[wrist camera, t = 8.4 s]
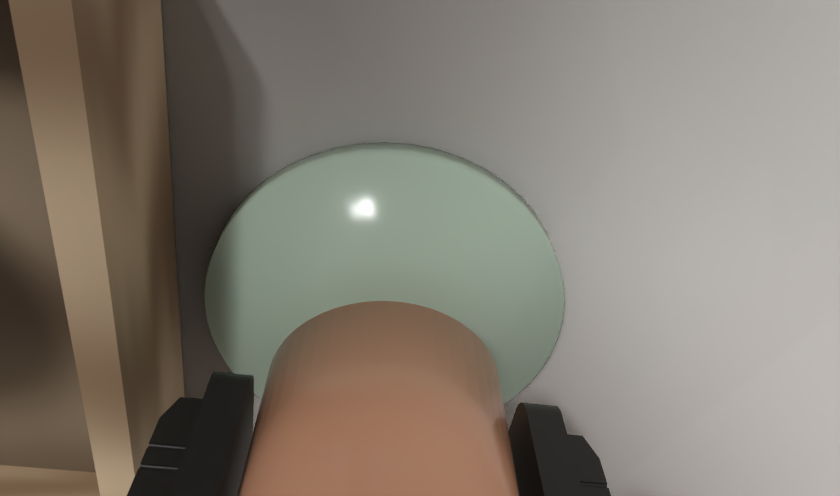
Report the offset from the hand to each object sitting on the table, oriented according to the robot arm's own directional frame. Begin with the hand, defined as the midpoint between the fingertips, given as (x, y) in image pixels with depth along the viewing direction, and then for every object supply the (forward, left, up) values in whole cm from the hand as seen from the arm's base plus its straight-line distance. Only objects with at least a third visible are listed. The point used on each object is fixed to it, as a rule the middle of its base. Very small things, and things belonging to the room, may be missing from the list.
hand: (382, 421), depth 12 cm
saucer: (0, 0, -4) cm, 4 cm away
